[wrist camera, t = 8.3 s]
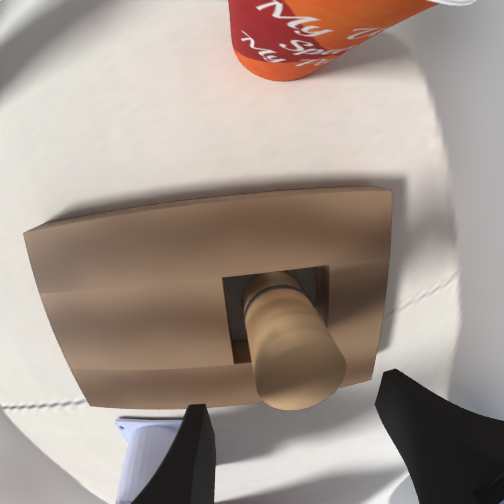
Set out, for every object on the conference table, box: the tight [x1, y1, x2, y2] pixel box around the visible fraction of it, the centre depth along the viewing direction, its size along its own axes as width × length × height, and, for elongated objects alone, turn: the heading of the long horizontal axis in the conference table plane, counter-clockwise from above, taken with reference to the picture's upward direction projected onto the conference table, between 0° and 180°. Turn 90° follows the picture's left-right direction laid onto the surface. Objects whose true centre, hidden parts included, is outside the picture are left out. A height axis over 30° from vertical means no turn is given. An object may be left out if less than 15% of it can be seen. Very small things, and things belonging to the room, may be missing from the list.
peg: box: [242, 271, 347, 410], centre depth 15 cm, size 4×4×8 cm
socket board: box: [23, 186, 392, 409], centre depth 17 cm, size 14×22×2 cm, turn 94°
